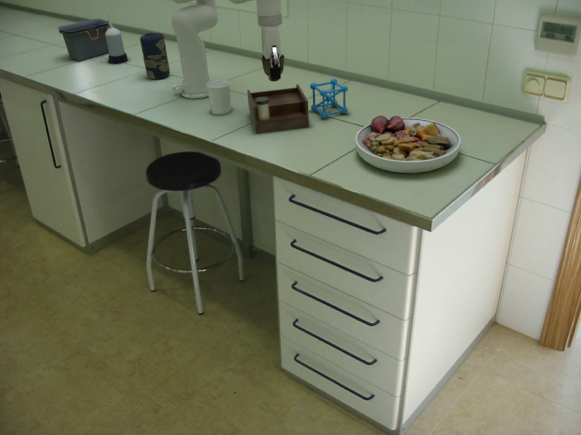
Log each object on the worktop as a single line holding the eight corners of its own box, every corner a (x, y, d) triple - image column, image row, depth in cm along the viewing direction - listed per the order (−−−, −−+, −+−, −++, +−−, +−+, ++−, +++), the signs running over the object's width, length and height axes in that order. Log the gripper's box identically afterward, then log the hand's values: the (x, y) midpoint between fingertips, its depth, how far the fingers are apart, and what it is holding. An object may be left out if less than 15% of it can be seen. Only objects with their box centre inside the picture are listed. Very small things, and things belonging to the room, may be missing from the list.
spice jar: (258, 123, 191) (256, 102, 187) (256, 118, 195) (254, 97, 191) (271, 121, 192) (269, 100, 188) (269, 116, 195) (267, 96, 191)
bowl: (481, 155, 170) (485, 130, 166) (406, 189, 156) (407, 163, 152) (406, 124, 191) (408, 101, 187) (334, 151, 177) (333, 127, 173)
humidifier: (106, 61, 267) (93, 4, 254) (122, 57, 272) (110, 0, 258) (114, 65, 262) (102, 6, 248) (131, 60, 266) (119, 2, 253)
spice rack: (255, 133, 192) (253, 107, 187) (249, 115, 205) (247, 90, 200) (309, 126, 194) (308, 100, 189) (299, 109, 207) (298, 84, 202)
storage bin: (104, 47, 287) (97, 17, 279) (120, 53, 277) (114, 21, 269) (62, 58, 275) (54, 27, 267) (78, 65, 265) (70, 32, 257)
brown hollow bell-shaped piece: (283, 84, 191) (281, 59, 187) (260, 84, 193) (258, 59, 188) (287, 76, 197) (286, 52, 193) (266, 76, 199) (264, 52, 195)
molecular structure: (309, 110, 206) (308, 82, 200) (335, 104, 209) (335, 77, 204) (322, 120, 198) (321, 91, 193) (349, 114, 201) (349, 85, 196)
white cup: (215, 117, 205) (211, 89, 200) (206, 109, 211) (203, 82, 206) (236, 112, 208) (232, 84, 203) (227, 105, 214) (224, 78, 209)
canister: (159, 81, 240) (151, 36, 230) (142, 78, 244) (133, 34, 235) (175, 74, 247) (168, 30, 237) (158, 71, 251) (150, 28, 241)
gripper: (254, 14, 191) (259, 68, 201) (261, 28, 177) (266, 85, 186) (277, 12, 192) (280, 66, 202) (286, 25, 178) (290, 82, 187)
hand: (274, 74), depth 194 cm, fingers closed on brown hollow bell-shaped piece, 7 cm apart
